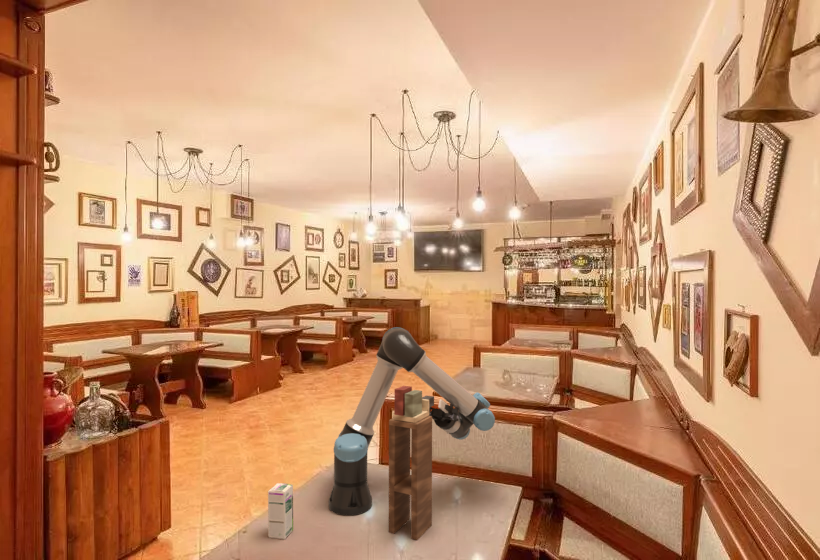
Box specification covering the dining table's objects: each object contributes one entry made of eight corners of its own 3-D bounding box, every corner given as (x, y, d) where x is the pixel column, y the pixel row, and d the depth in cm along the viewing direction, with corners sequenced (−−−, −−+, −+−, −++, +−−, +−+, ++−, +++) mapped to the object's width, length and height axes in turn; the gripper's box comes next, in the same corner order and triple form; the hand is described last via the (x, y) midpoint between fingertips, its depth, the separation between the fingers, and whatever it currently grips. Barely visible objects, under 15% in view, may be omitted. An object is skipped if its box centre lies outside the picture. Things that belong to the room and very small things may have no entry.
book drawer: (392, 419, 148) (392, 389, 148) (419, 406, 165) (419, 378, 165) (415, 422, 144) (415, 391, 144) (440, 409, 161) (440, 381, 161)
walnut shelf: (388, 532, 147) (389, 420, 148) (404, 518, 156) (405, 412, 157) (416, 540, 143) (417, 424, 143) (431, 525, 152) (432, 416, 152)
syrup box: (285, 539, 143) (285, 491, 143) (267, 537, 144) (267, 489, 144) (293, 530, 148) (293, 484, 149) (276, 528, 149) (276, 482, 150)
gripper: (476, 433, 167) (453, 416, 152) (415, 426, 180) (388, 409, 164) (479, 413, 171) (457, 393, 155) (419, 407, 183) (394, 388, 167)
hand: (422, 401), depth 159 cm, fingers open, 13 cm apart
